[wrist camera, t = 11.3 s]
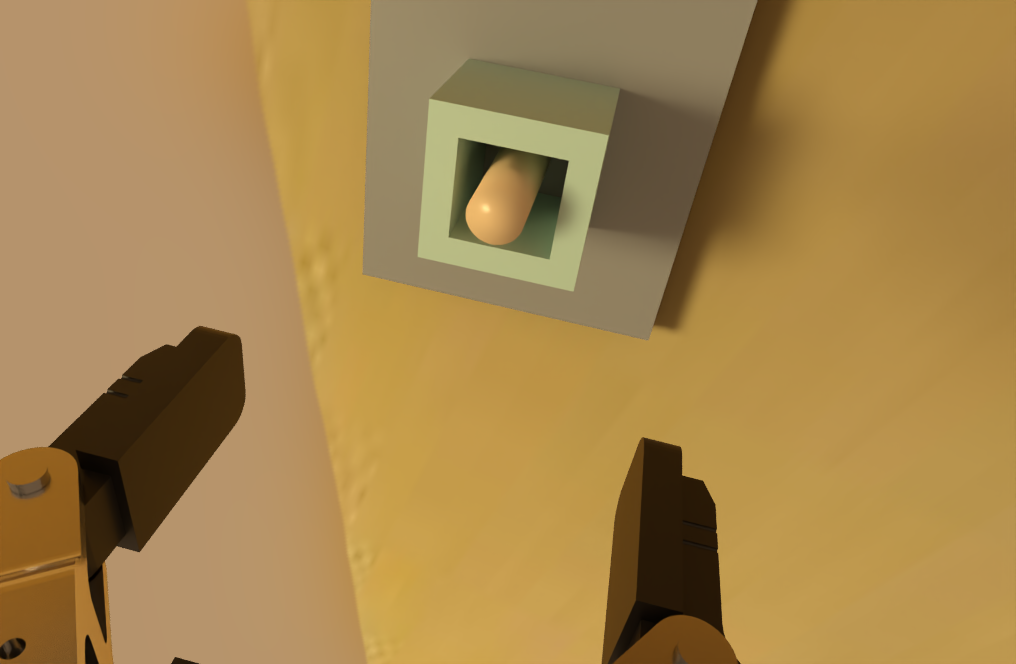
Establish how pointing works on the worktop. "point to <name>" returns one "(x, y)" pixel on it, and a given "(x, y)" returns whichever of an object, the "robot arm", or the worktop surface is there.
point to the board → (636, 154)
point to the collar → (521, 126)
